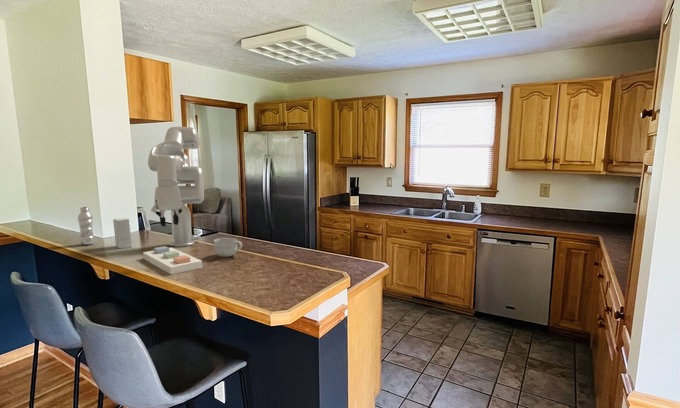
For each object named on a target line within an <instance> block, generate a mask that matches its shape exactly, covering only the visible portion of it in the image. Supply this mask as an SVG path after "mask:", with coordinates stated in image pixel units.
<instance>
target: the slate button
mask: <svg viewBox="0 0 680 408" xmlns="http://www.w3.org/2000/svg"><path fill="white" fill-rule="evenodd" d="M169 248H170V247H167V246H165V245H164V246H160V247H159V246H158V247H154V248H153V251H154V252H155V253H157V254H161V253H163V252H169Z"/></svg>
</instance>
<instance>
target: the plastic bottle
mask: <svg viewBox="0 0 680 408" xmlns="http://www.w3.org/2000/svg"><path fill="white" fill-rule="evenodd" d="M79 210H80V213H79V214H78V216H77V221H78V225H79V230H80V231H79V235H80V236H79V243H80V244H81V245H82V246H88V245H92V244H95V241H96V240H95V236H94V230H93V215H92V214H91V212H90V207H89V206H81V207H80V208H79Z"/></svg>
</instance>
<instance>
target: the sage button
mask: <svg viewBox="0 0 680 408" xmlns="http://www.w3.org/2000/svg"><path fill="white" fill-rule="evenodd" d="M178 256H179V252H177V251H169V252H163V257H164V258H166V259H170V258H173V257H178Z"/></svg>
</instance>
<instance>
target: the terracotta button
mask: <svg viewBox="0 0 680 408" xmlns="http://www.w3.org/2000/svg"><path fill="white" fill-rule="evenodd" d="M173 262H174V263H176V264H182V263H187V262H190V257H188V256H186V255H184V256H178V257H173Z"/></svg>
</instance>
